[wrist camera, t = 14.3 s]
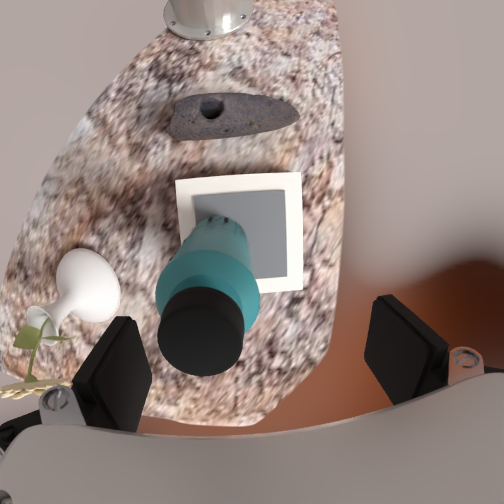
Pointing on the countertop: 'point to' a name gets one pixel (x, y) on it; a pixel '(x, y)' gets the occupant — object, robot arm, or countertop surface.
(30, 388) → the flower in vase
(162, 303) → the beverage bottle
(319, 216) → the countertop surface
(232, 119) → the perforated stone tool
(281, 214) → the white picture frame
